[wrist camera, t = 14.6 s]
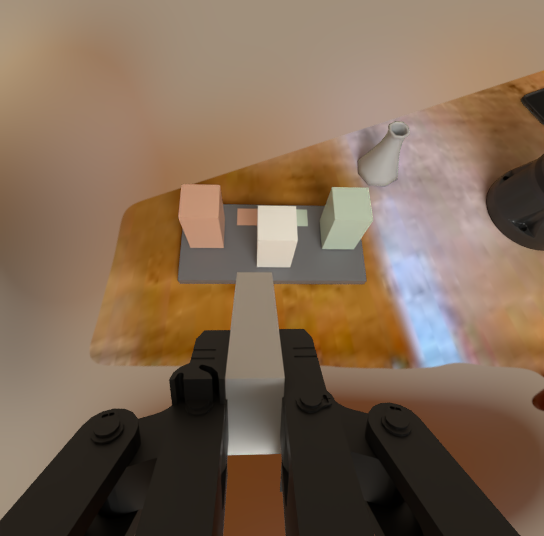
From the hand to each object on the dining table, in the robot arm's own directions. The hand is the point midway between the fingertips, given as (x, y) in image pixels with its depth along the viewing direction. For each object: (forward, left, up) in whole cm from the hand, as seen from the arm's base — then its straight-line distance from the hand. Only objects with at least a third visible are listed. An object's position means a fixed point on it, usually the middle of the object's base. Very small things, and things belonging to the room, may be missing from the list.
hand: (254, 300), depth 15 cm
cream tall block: (-3, -17, -33) cm, 37 cm away
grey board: (-3, -19, -34) cm, 39 cm away
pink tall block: (+7, -20, -33) cm, 39 cm away
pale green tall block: (-13, -20, -33) cm, 40 cm away
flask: (-22, -34, -34) cm, 53 cm away
